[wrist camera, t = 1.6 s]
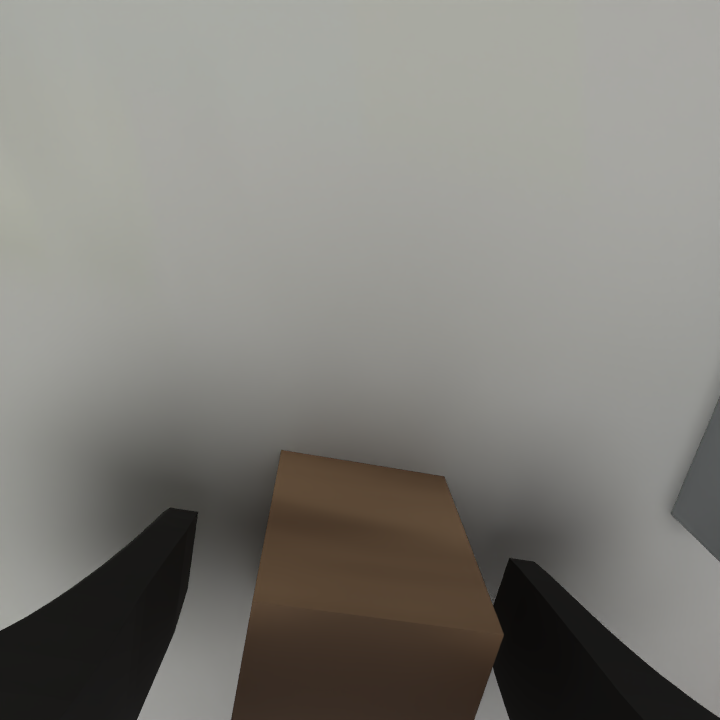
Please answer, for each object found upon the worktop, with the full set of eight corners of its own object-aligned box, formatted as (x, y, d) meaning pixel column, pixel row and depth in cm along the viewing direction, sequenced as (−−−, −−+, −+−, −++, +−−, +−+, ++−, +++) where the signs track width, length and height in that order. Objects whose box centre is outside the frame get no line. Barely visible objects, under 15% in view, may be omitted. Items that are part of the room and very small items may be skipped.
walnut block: (406, 607, 15) (442, 809, 10) (256, 586, 14) (218, 789, 10) (443, 475, 14) (504, 634, 9) (281, 449, 13) (252, 601, 8)
